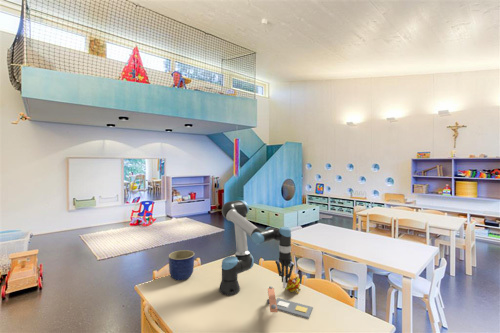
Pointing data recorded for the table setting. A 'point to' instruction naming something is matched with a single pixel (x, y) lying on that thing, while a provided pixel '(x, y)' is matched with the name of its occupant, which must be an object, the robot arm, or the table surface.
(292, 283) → the toy
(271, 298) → the swing arm
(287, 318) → the table surface
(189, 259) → the planter
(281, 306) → the label board
